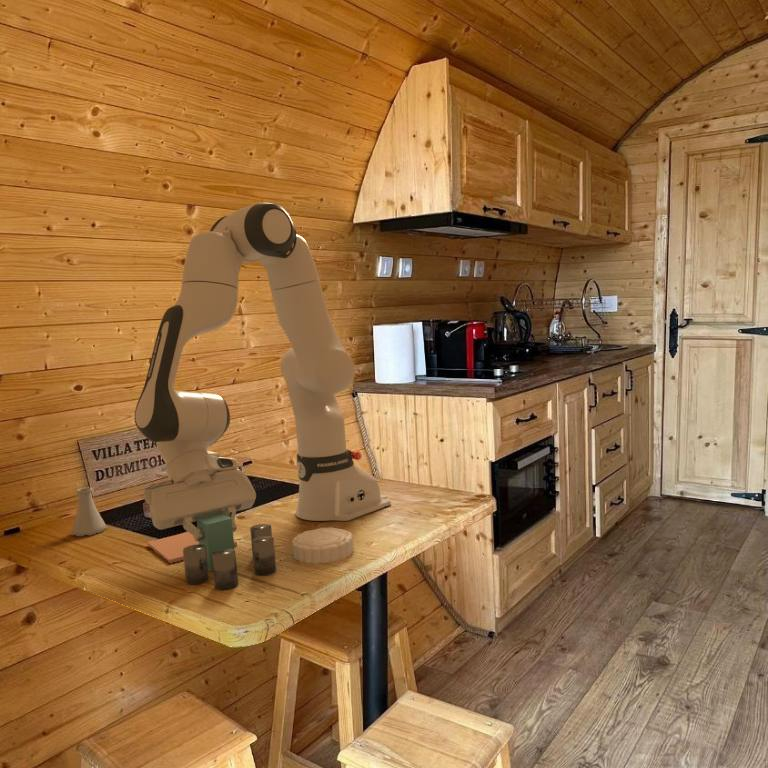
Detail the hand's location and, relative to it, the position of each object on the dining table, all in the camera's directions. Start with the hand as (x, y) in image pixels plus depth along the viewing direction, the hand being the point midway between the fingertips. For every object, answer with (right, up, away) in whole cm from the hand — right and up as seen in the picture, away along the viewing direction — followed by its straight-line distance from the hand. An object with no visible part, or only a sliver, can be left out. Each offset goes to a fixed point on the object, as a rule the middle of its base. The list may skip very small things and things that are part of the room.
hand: (216, 535), depth 133 cm
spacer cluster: (+5, -6, -4) cm, 9 cm away
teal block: (0, -6, +1) cm, 6 cm away
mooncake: (+20, -5, +4) cm, 21 cm away
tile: (-8, -5, +13) cm, 16 cm away
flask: (-35, -5, +26) cm, 44 cm away
